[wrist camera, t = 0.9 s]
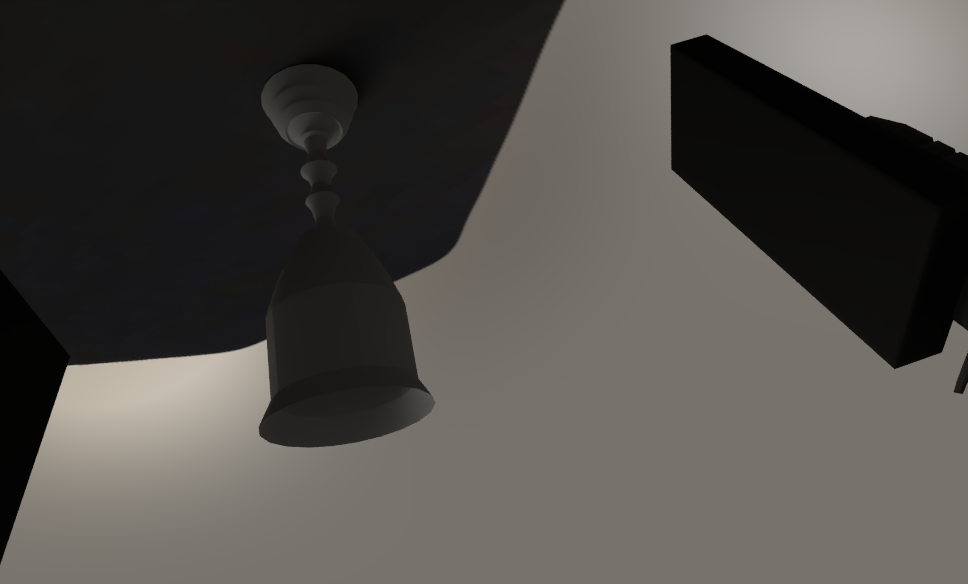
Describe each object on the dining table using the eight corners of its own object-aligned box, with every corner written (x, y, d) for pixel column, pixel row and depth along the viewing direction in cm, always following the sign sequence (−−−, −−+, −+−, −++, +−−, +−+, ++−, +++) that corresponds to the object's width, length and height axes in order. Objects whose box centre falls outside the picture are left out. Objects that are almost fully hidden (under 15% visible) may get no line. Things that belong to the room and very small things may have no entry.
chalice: (345, 29, 33) (401, 370, 24) (396, 118, 39) (455, 415, 30) (211, 80, 34) (221, 424, 25) (281, 159, 40) (308, 457, 31)
